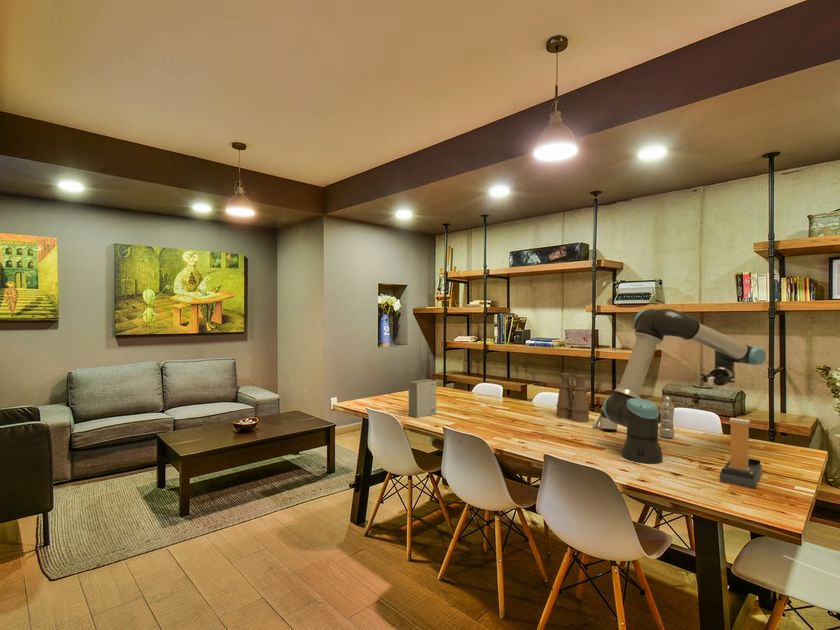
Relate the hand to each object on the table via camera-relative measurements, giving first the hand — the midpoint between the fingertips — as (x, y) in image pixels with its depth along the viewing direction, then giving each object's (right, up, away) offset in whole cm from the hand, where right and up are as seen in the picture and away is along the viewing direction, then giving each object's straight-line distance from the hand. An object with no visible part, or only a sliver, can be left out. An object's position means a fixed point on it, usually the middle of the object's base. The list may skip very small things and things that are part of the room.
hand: (709, 381), depth 186 cm
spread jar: (-23, -32, +49) cm, 63 cm away
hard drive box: (-117, -31, +78) cm, 144 cm away
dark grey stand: (-1, -32, -20) cm, 38 cm away
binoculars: (-31, -32, +74) cm, 86 cm away
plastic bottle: (+1, -32, +34) cm, 47 cm away
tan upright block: (-5, -29, -24) cm, 38 cm away
